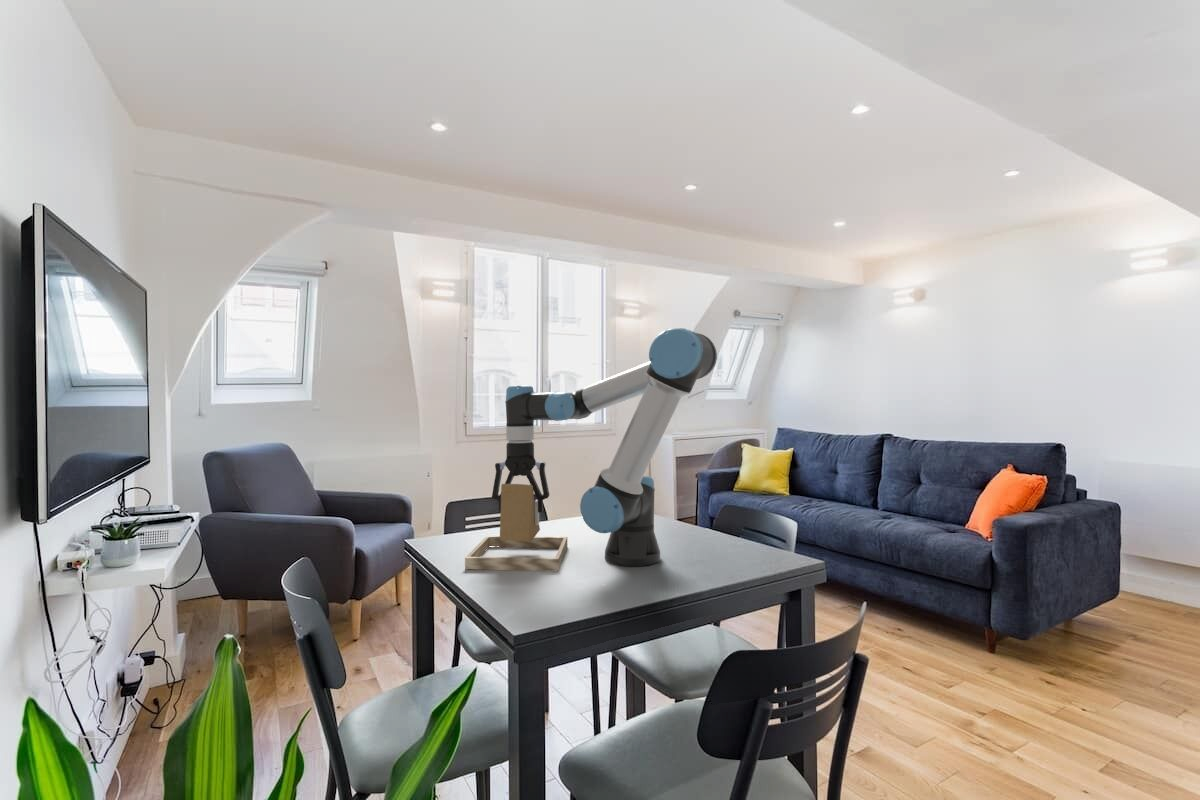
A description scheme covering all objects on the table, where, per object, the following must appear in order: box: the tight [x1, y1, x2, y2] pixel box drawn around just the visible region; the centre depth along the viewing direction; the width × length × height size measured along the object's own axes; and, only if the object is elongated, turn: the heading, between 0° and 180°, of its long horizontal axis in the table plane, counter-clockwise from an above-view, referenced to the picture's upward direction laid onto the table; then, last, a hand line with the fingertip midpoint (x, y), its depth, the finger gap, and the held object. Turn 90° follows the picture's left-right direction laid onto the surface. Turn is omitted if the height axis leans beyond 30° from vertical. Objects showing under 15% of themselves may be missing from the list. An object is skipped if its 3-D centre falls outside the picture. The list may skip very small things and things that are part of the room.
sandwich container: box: [499, 483, 541, 542], centre depth 164 cm, size 9×15×15 cm, turn 175°
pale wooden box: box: [464, 535, 568, 571], centre depth 163 cm, size 24×24×3 cm
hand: (521, 524), depth 163 cm, fingers closed on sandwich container, 8 cm apart
